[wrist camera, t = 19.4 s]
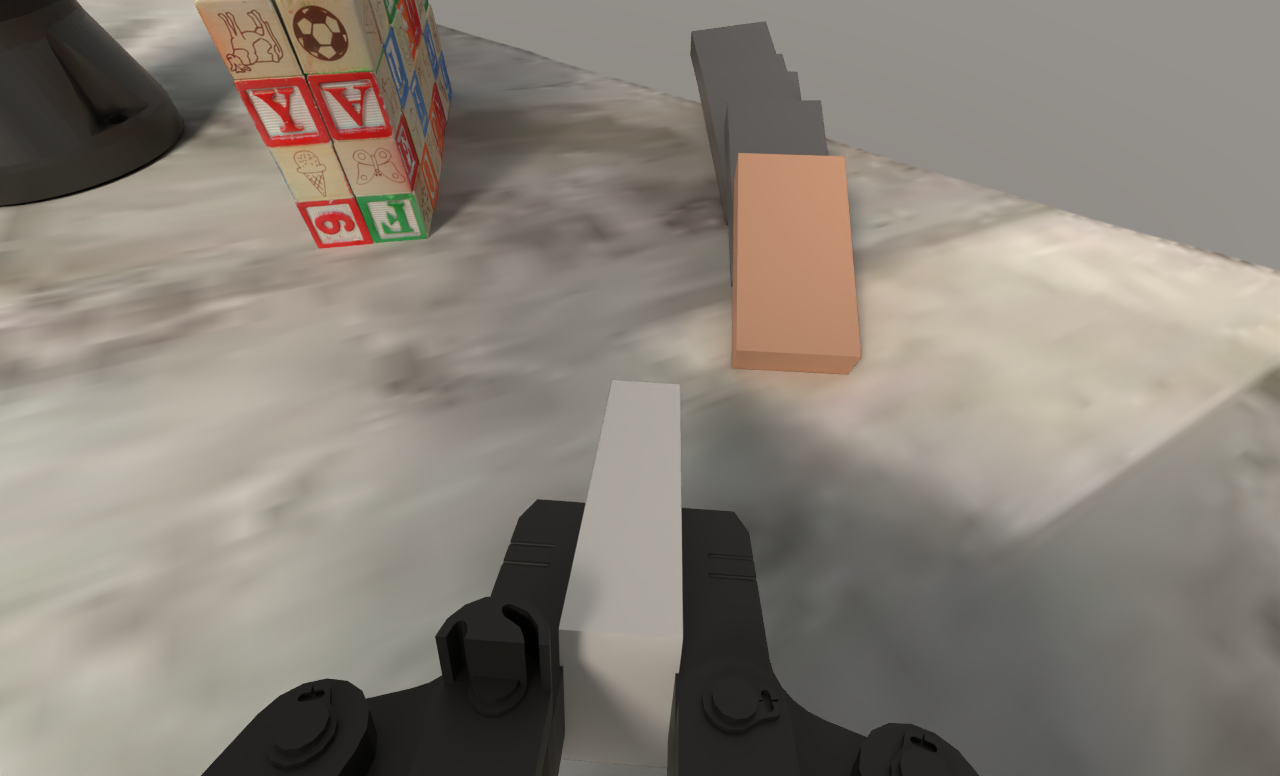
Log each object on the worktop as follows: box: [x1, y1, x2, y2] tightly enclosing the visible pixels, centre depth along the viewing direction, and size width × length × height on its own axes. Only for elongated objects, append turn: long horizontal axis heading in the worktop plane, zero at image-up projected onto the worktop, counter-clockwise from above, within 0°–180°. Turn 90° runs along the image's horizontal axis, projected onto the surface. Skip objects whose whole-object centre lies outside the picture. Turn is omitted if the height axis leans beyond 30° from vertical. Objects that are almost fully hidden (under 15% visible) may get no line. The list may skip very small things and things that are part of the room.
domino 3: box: [724, 101, 828, 287], centre depth 31 cm, size 2×5×11 cm
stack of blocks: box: [195, 0, 451, 248], centre depth 35 cm, size 21×6×12 cm, turn 9°
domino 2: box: [698, 54, 796, 225], centre depth 35 cm, size 2×5×11 cm
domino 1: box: [691, 22, 776, 84], centre depth 38 cm, size 2×5×11 cm
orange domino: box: [732, 153, 861, 374], centre depth 27 cm, size 2×5×11 cm
